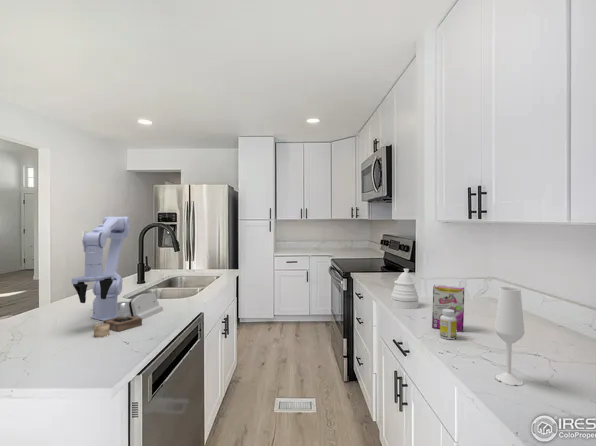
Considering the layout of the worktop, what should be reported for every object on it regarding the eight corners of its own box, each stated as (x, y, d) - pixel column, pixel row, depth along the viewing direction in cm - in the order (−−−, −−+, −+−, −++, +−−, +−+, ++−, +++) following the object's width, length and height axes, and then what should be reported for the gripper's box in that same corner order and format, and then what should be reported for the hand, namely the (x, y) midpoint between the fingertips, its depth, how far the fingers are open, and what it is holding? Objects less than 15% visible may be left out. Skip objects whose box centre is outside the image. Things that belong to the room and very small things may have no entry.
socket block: (103, 327, 128) (103, 320, 128) (126, 321, 137) (126, 314, 137) (118, 331, 124) (118, 324, 124) (141, 324, 132) (141, 318, 132)
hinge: (140, 320, 138) (132, 297, 138) (130, 324, 139) (123, 300, 139) (163, 310, 154) (157, 289, 155) (154, 313, 155) (148, 292, 156)
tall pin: (121, 328, 127) (121, 304, 127) (114, 326, 129) (115, 303, 129) (130, 325, 131) (131, 302, 131) (124, 324, 133) (125, 301, 133)
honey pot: (396, 301, 177) (396, 266, 177) (421, 305, 169) (422, 269, 169) (387, 306, 166) (387, 269, 166) (413, 310, 159) (414, 272, 159)
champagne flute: (490, 372, 94) (492, 285, 94) (518, 376, 92) (520, 287, 92) (497, 383, 87) (499, 290, 87) (527, 387, 85) (529, 292, 85)
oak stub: (90, 336, 119) (90, 326, 119) (104, 332, 123) (104, 322, 123) (99, 338, 117) (99, 328, 117) (112, 334, 121) (112, 324, 121)
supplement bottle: (455, 336, 124) (455, 309, 124) (457, 340, 119) (457, 312, 119) (439, 334, 126) (439, 307, 126) (440, 339, 121) (440, 311, 120)
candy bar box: (431, 328, 132) (432, 286, 132) (432, 324, 137) (433, 284, 137) (463, 332, 128) (464, 289, 128) (463, 329, 132) (464, 286, 132)
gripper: (79, 266, 119) (79, 305, 119) (118, 263, 132) (118, 298, 131) (68, 265, 122) (67, 303, 122) (107, 262, 135) (107, 296, 135)
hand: (93, 300), depth 127 cm, fingers open, 7 cm apart
